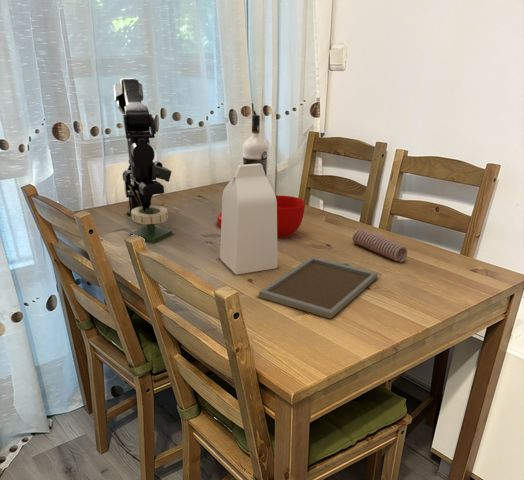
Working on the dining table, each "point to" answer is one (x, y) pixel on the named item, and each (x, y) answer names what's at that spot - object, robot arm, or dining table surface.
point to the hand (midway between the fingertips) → (144, 210)
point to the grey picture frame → (319, 286)
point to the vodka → (255, 146)
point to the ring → (149, 215)
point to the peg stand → (152, 230)
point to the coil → (380, 245)
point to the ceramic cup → (289, 215)
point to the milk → (249, 222)
